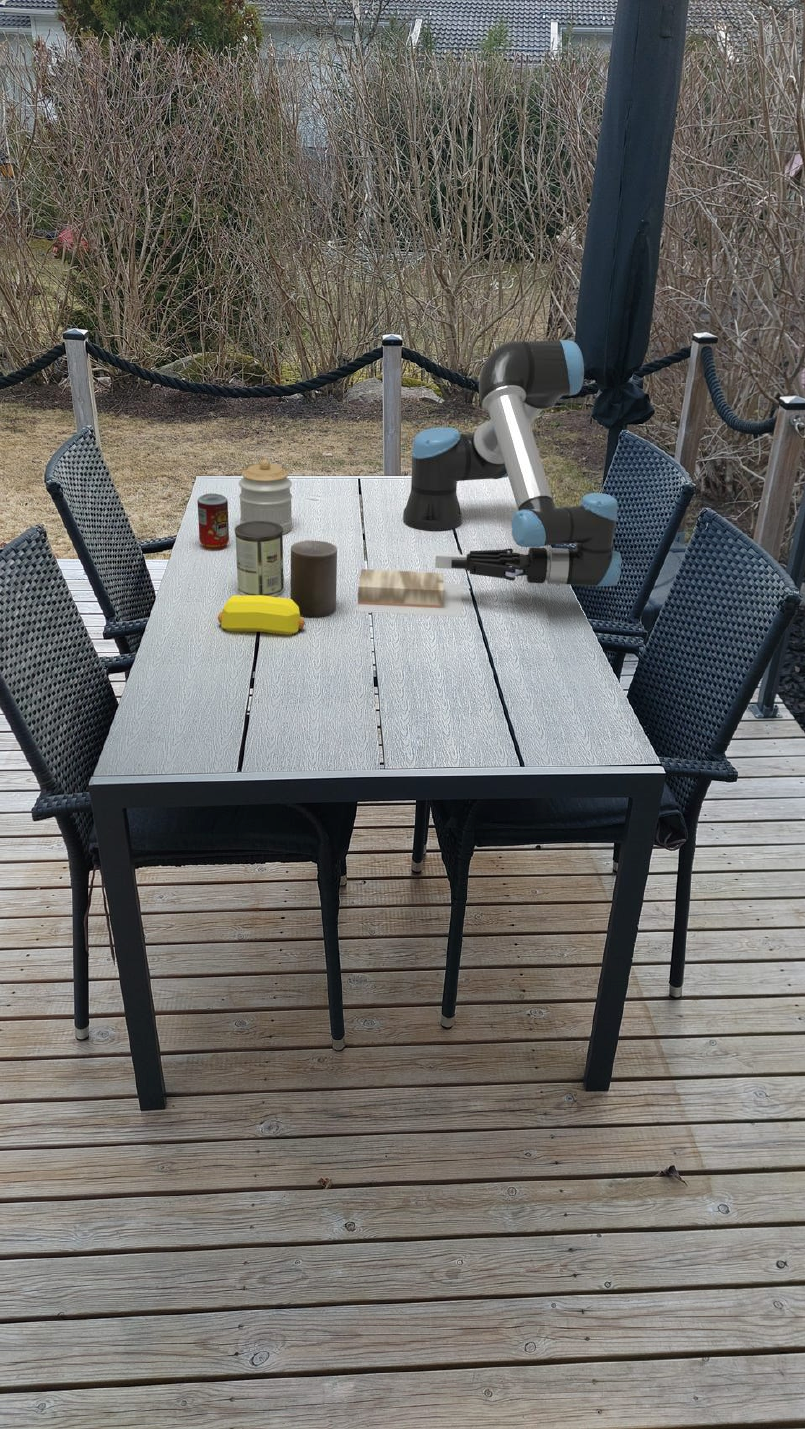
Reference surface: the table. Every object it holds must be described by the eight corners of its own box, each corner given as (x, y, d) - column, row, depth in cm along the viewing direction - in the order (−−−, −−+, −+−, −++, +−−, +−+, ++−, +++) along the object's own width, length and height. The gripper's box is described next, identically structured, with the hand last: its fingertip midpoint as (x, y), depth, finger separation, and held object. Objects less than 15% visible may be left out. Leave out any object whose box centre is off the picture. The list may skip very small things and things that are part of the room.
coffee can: (252, 577, 249) (250, 517, 243) (292, 586, 246) (291, 525, 239) (227, 593, 241) (225, 531, 234) (268, 602, 238) (267, 540, 231)
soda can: (215, 553, 262) (213, 503, 256) (193, 547, 265) (190, 497, 259) (235, 545, 267) (233, 496, 261) (213, 539, 270) (211, 490, 264)
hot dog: (221, 618, 230) (213, 633, 223) (220, 588, 227) (212, 603, 220) (308, 624, 229) (302, 639, 222) (307, 593, 226) (302, 608, 219)
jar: (302, 527, 280) (302, 458, 271) (270, 541, 270) (269, 470, 262) (262, 516, 286) (260, 449, 277) (229, 530, 276) (226, 460, 268)
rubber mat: (461, 587, 249) (461, 584, 248) (462, 619, 233) (462, 616, 233) (363, 582, 249) (363, 579, 249) (357, 615, 233) (357, 611, 233)
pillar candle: (301, 621, 230) (301, 552, 222) (283, 603, 237) (283, 536, 230) (343, 614, 234) (345, 546, 227) (325, 597, 241) (326, 531, 234)
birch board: (443, 573, 243) (361, 569, 243) (443, 590, 234) (358, 586, 235) (442, 589, 245) (361, 586, 245) (442, 607, 236) (357, 603, 236)
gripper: (547, 594, 232) (434, 588, 232) (542, 571, 244) (435, 566, 244) (550, 560, 229) (436, 555, 229) (545, 538, 240) (436, 533, 240)
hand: (435, 560), depth 236 cm, fingers closed
